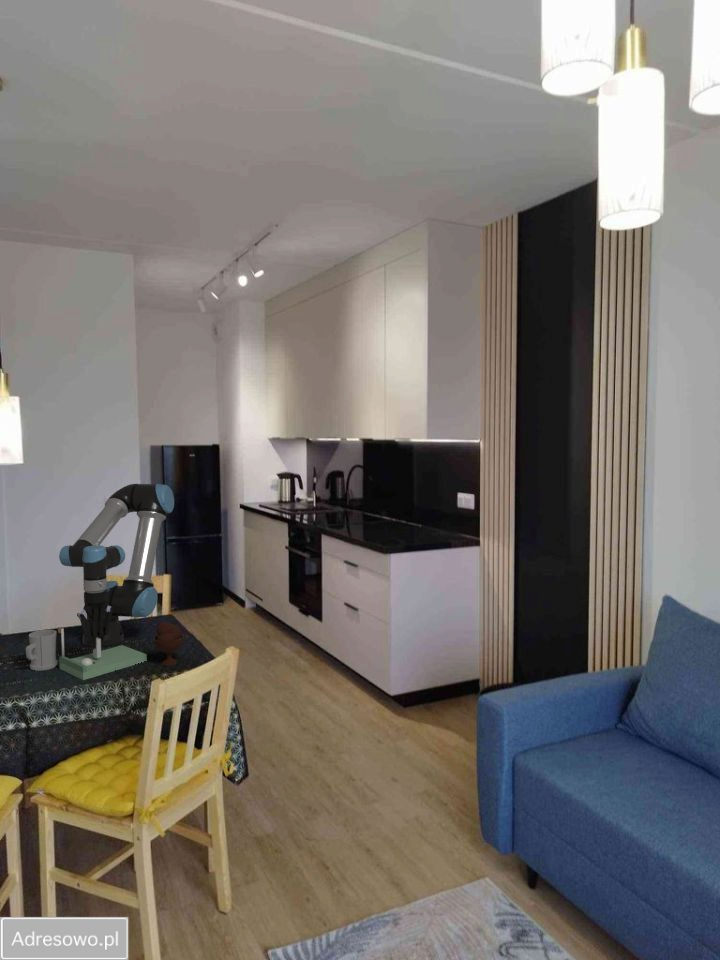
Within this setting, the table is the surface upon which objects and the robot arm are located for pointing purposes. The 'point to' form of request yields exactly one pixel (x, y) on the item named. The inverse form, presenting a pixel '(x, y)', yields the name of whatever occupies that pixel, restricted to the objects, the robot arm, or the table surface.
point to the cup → (42, 650)
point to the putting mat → (100, 661)
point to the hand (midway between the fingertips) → (97, 656)
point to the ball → (87, 661)
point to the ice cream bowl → (168, 641)
